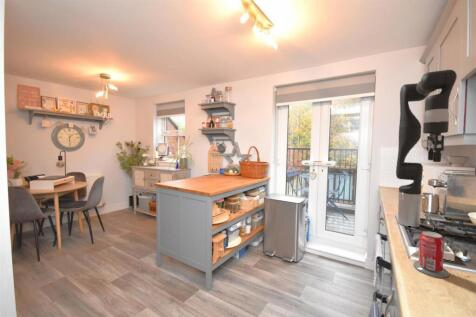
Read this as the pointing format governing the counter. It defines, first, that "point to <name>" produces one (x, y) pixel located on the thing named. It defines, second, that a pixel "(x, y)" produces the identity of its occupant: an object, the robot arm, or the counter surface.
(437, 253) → the beverage can
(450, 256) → the base
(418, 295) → the counter surface
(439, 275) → the coaster
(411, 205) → the robot arm
